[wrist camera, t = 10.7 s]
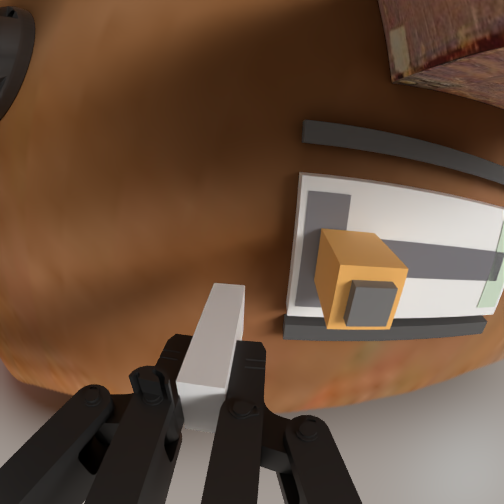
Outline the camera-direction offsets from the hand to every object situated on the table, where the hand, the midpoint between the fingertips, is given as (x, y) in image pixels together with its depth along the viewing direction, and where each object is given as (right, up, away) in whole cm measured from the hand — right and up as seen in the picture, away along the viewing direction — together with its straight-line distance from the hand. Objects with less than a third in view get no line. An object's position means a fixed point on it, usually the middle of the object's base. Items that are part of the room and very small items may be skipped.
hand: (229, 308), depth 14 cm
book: (+24, +20, 0) cm, 31 cm away
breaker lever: (+8, +2, +6) cm, 10 cm away
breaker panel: (+16, +3, +8) cm, 18 cm away
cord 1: (+16, +11, +5) cm, 20 cm away
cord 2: (+15, -4, +11) cm, 19 cm away
